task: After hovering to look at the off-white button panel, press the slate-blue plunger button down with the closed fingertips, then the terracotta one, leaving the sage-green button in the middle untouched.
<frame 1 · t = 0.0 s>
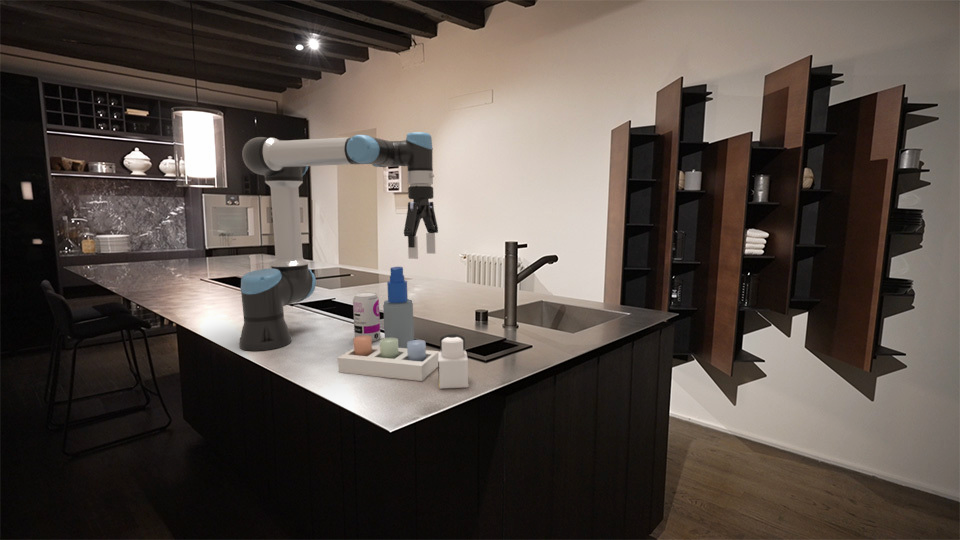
hand: (422, 255, 148), 28 cm above the countertop, fingers open, 13 cm apart
button sage: (389, 349, 130), point 5 cm above the countertop, slide at 0.0 cm
supplement can: (367, 340, 158), on the countertop
spray bottle: (399, 347, 149), on the countertop
button blue: (416, 351, 127), point 6 cm above the countertop, slide at 0.0 cm
medicine bottle: (453, 383, 120), on the countertop
panel: (390, 368, 130), on the countertop
button terracotta: (362, 346, 132), point 5 cm above the countertop, slide at 0.0 cm
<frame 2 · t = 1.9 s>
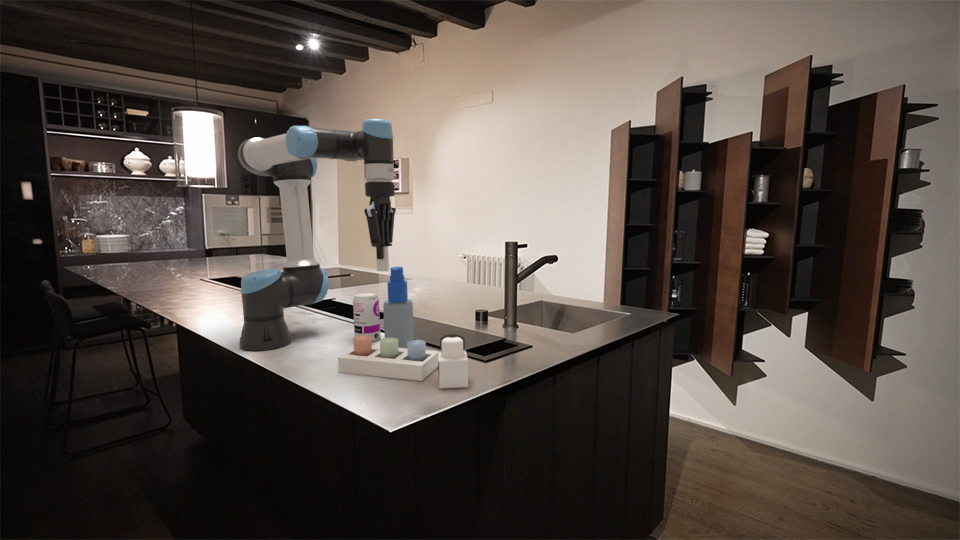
hand: (383, 270, 129), 26 cm above the countertop, fingers closed
nothing on the countertop moved.
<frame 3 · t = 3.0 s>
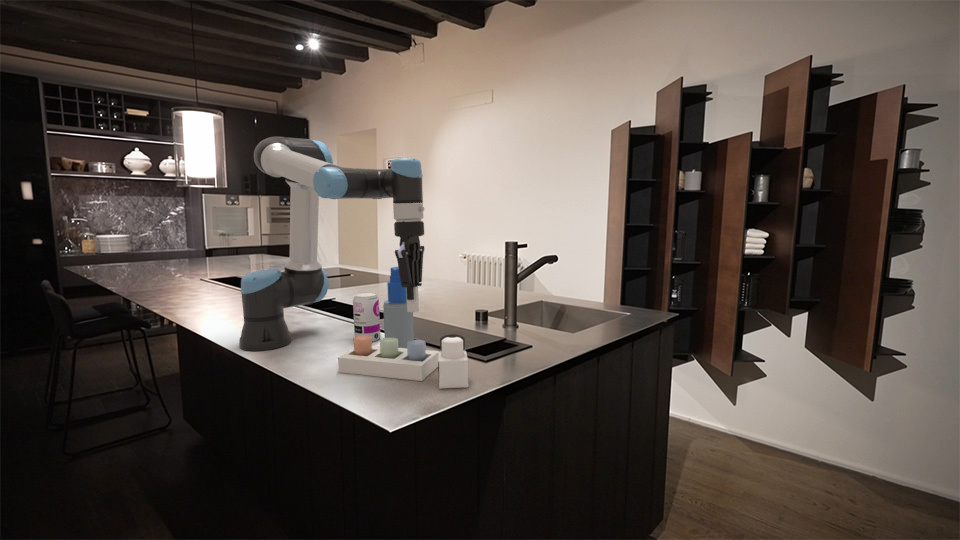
hand: (413, 311, 126), 16 cm above the countertop, fingers closed
nothing on the countertop moved.
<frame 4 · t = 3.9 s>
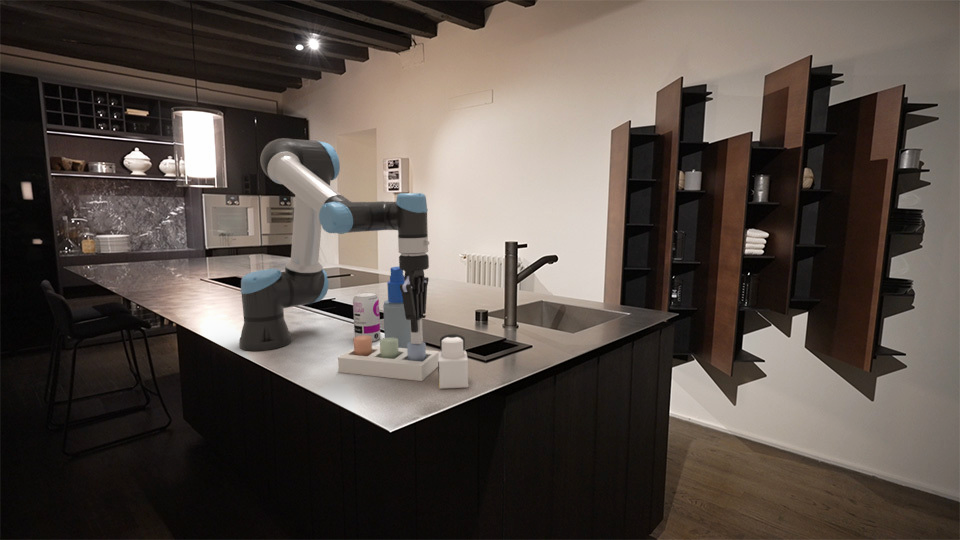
hand: (417, 343, 127), 8 cm above the countertop, fingers closed
button blue: (416, 353, 127), point 5 cm above the countertop, slide at 0.5 cm, touching gripper
everything else where it was.
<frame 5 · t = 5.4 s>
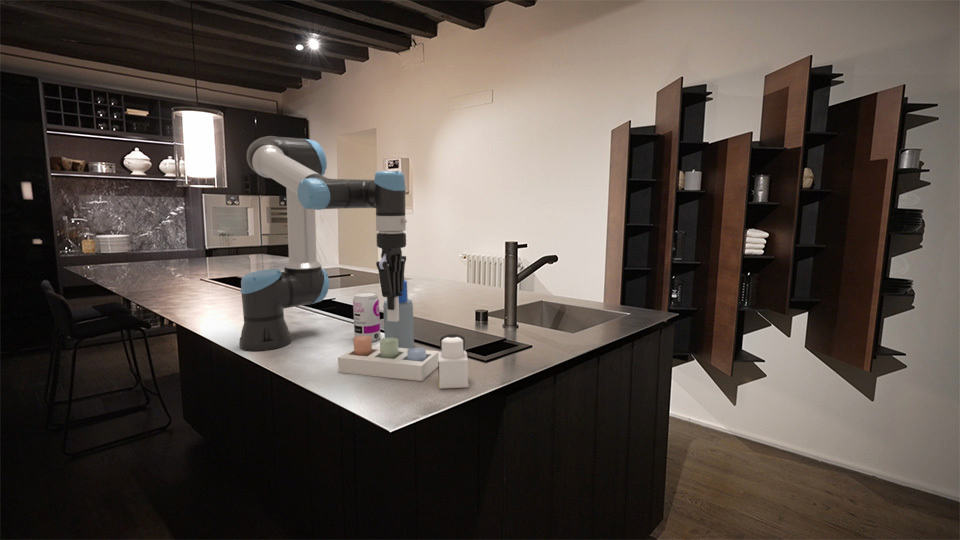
hand: (393, 320, 128), 13 cm above the countertop, fingers closed
button blue: (416, 359, 128), point 3 cm above the countertop, slide at 2.2 cm
everything else where it was.
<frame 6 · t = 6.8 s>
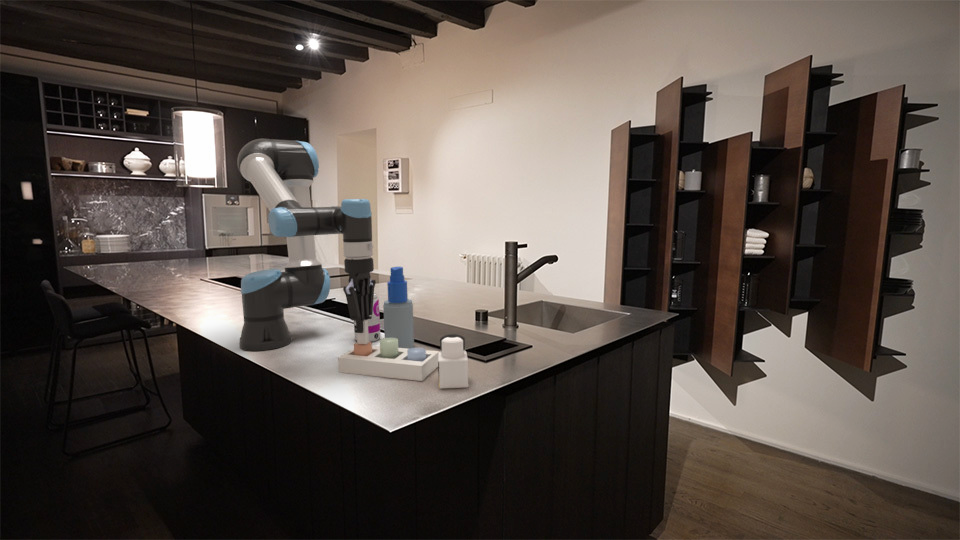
hand: (363, 343, 132), 7 cm above the countertop, fingers closed
button terracotta: (363, 352, 132), point 4 cm above the countertop, slide at 1.8 cm, touching gripper
everything else where it was.
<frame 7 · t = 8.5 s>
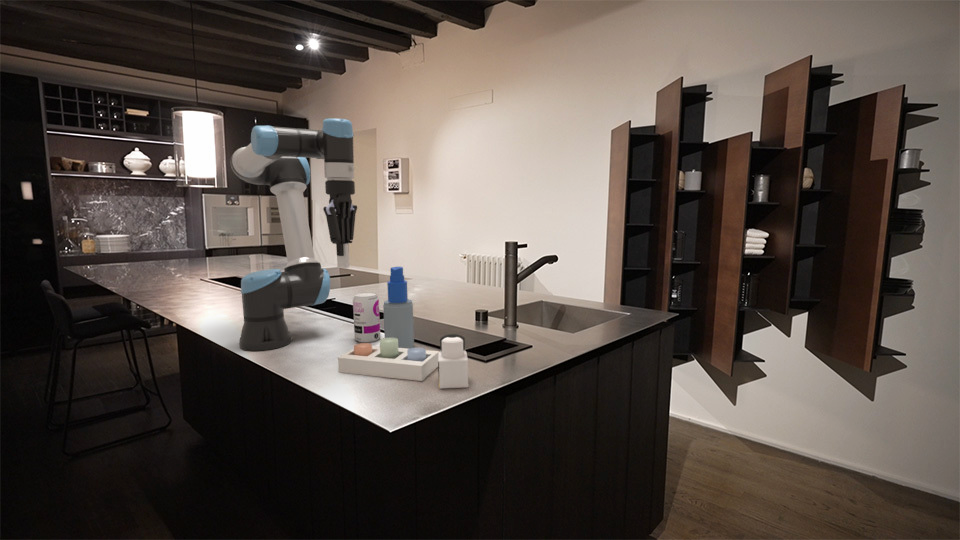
hand: (343, 267, 132), 27 cm above the countertop, fingers closed
button terracotta: (363, 354, 132), point 3 cm above the countertop, slide at 2.2 cm
everything else where it was.
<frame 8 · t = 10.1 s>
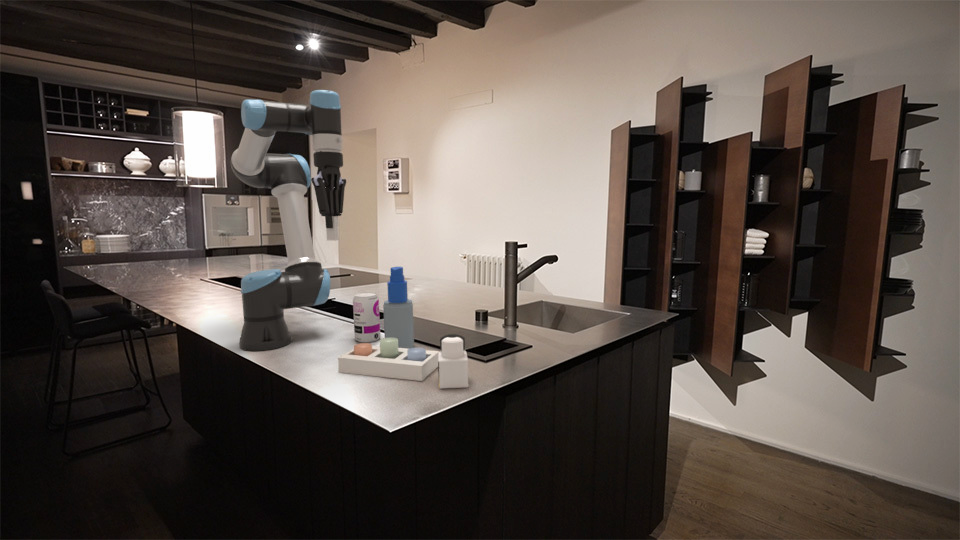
hand: (332, 240, 132), 34 cm above the countertop, fingers closed
nothing on the countertop moved.
at the end: button blue slide at 2.2 cm; button terracotta slide at 2.2 cm; button sage slide at 0.0 cm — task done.
